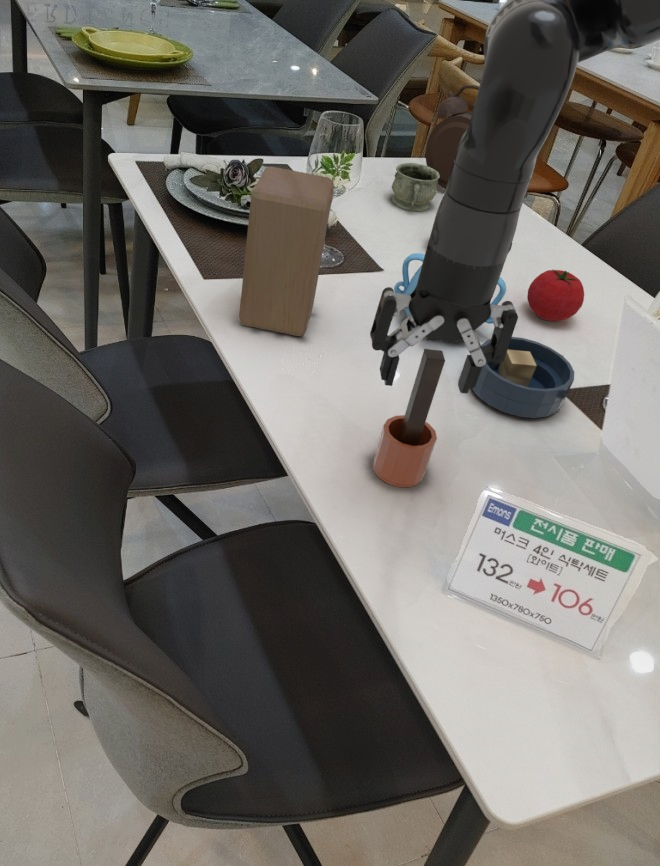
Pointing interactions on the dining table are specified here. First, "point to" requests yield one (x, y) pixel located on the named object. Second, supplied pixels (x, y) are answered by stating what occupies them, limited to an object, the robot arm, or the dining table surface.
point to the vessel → (414, 186)
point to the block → (517, 367)
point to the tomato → (555, 295)
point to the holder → (402, 455)
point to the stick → (421, 396)
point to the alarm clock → (448, 134)
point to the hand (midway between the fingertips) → (424, 385)
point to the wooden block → (284, 249)
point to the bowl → (543, 387)
